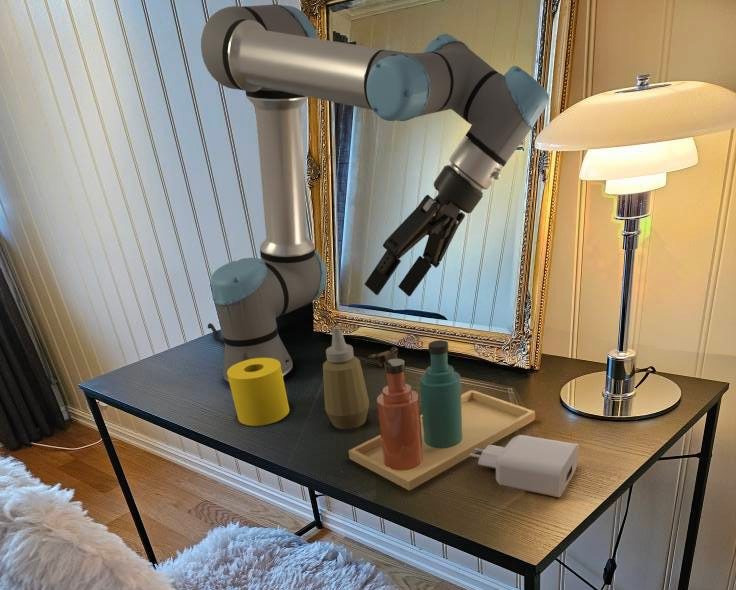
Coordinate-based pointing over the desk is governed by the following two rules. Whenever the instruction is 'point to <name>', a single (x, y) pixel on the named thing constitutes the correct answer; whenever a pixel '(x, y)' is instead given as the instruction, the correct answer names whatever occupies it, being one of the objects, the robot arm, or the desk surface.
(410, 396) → the terracotta bottle
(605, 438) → the desk surface
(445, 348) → the teal bottle
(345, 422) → the squeeze bottle
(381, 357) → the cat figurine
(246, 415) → the yellow toilet paper roll
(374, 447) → the tray
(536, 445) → the charger
